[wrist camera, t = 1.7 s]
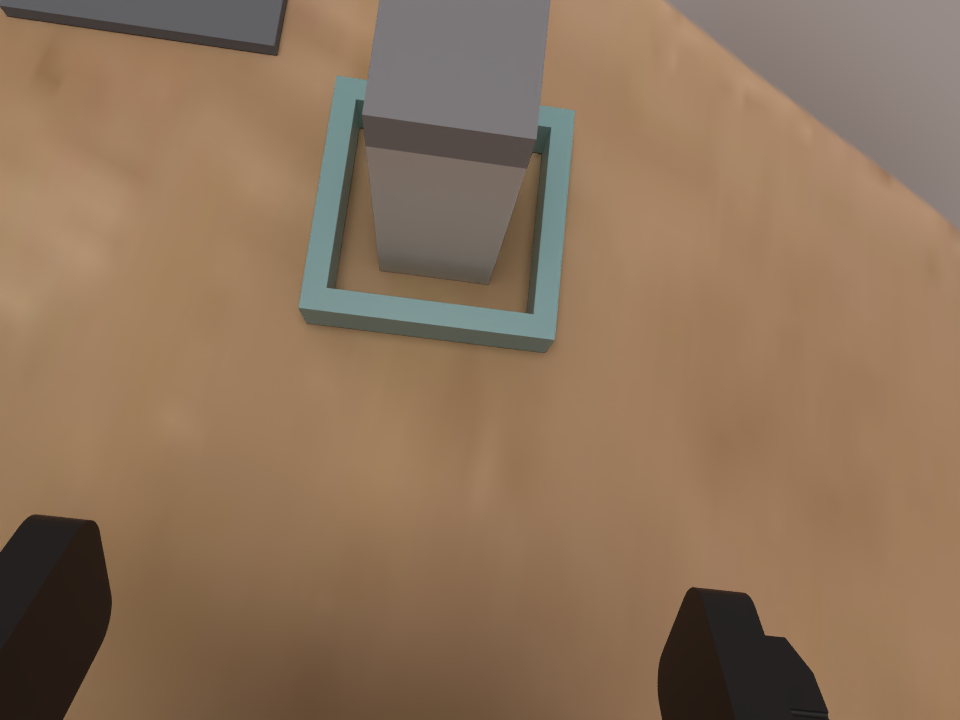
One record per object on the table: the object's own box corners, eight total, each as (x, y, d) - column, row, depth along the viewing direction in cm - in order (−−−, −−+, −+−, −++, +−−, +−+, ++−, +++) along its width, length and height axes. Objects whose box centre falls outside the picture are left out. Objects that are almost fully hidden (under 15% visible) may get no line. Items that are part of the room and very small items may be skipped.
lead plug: (379, 270, 28) (361, 114, 18) (393, 169, 29) (385, -38, 18) (488, 284, 28) (536, 139, 18) (499, 184, 29) (551, -12, 19)
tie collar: (306, 323, 28) (298, 307, 26) (341, 105, 29) (336, 75, 27) (544, 352, 28) (554, 340, 26) (564, 137, 30) (574, 110, 28)
